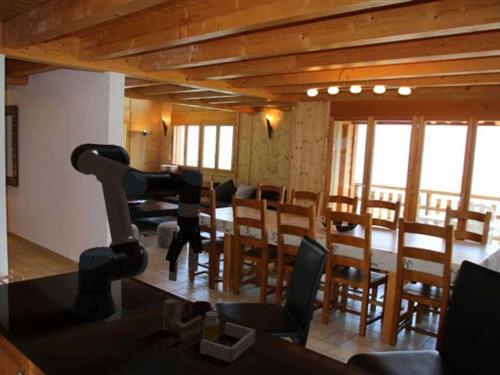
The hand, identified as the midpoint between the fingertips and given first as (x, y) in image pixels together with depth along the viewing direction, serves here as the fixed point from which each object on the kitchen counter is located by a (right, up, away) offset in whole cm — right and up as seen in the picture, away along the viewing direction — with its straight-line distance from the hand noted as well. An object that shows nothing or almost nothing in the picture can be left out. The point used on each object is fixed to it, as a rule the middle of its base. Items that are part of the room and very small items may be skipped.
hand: (183, 275), depth 149 cm
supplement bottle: (+10, -21, -5) cm, 24 cm away
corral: (+15, -21, -8) cm, 28 cm away
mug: (+3, -19, +11) cm, 22 cm away
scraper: (-2, -19, 0) cm, 19 cm away
